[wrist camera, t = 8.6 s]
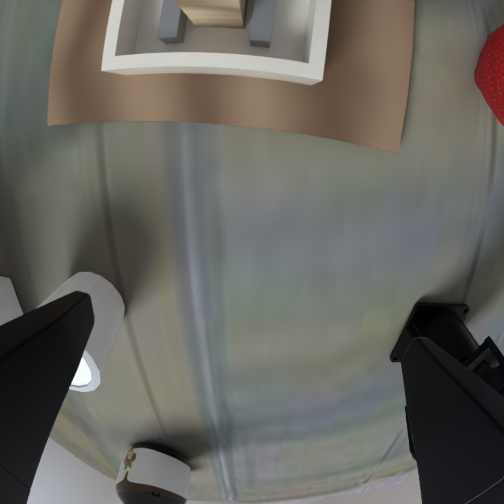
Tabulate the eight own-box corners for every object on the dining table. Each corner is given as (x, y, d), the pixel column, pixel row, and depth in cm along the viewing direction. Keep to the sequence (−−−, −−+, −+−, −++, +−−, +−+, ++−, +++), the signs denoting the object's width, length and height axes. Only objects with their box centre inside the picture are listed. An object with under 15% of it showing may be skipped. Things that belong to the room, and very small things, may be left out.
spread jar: (162, 437, 32) (146, 514, 22) (217, 467, 36) (211, 534, 26) (112, 445, 35) (94, 507, 25) (164, 474, 39) (154, 530, 29)
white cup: (54, 258, 20) (5, 309, 14) (127, 271, 21) (87, 334, 14) (70, 324, 23) (35, 377, 17) (136, 339, 24) (109, 402, 18)
